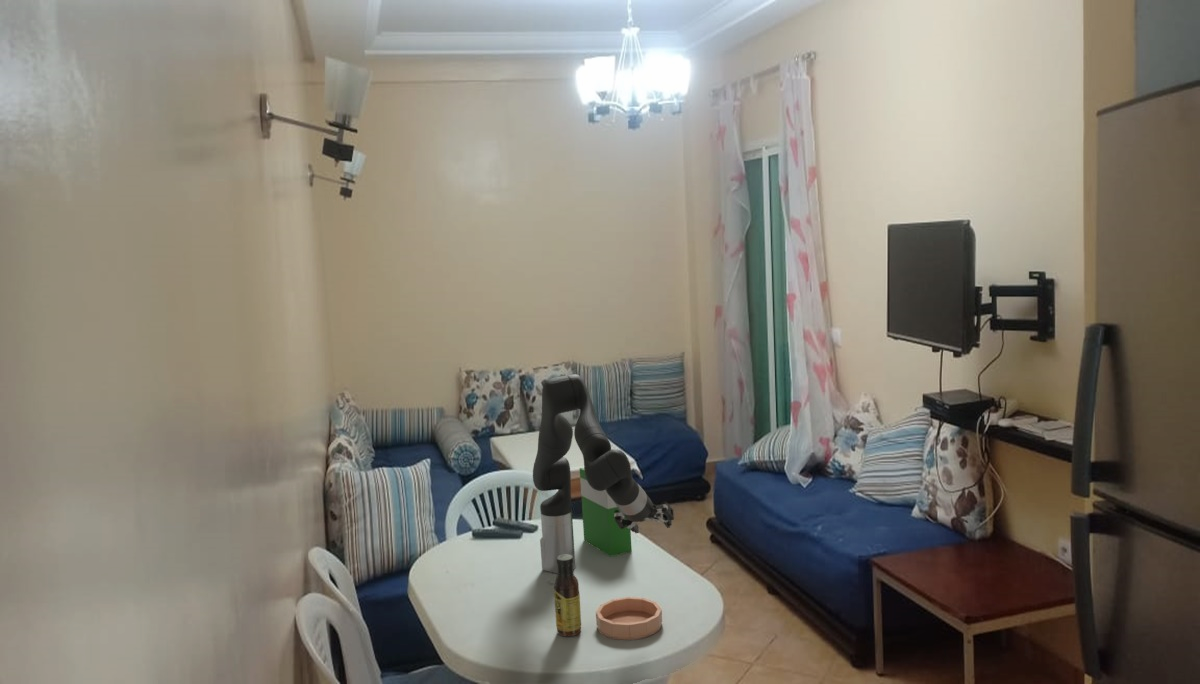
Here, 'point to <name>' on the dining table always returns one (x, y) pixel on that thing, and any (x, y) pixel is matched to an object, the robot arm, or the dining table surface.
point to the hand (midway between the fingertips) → (652, 527)
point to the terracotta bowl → (629, 618)
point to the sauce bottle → (567, 598)
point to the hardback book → (602, 521)
